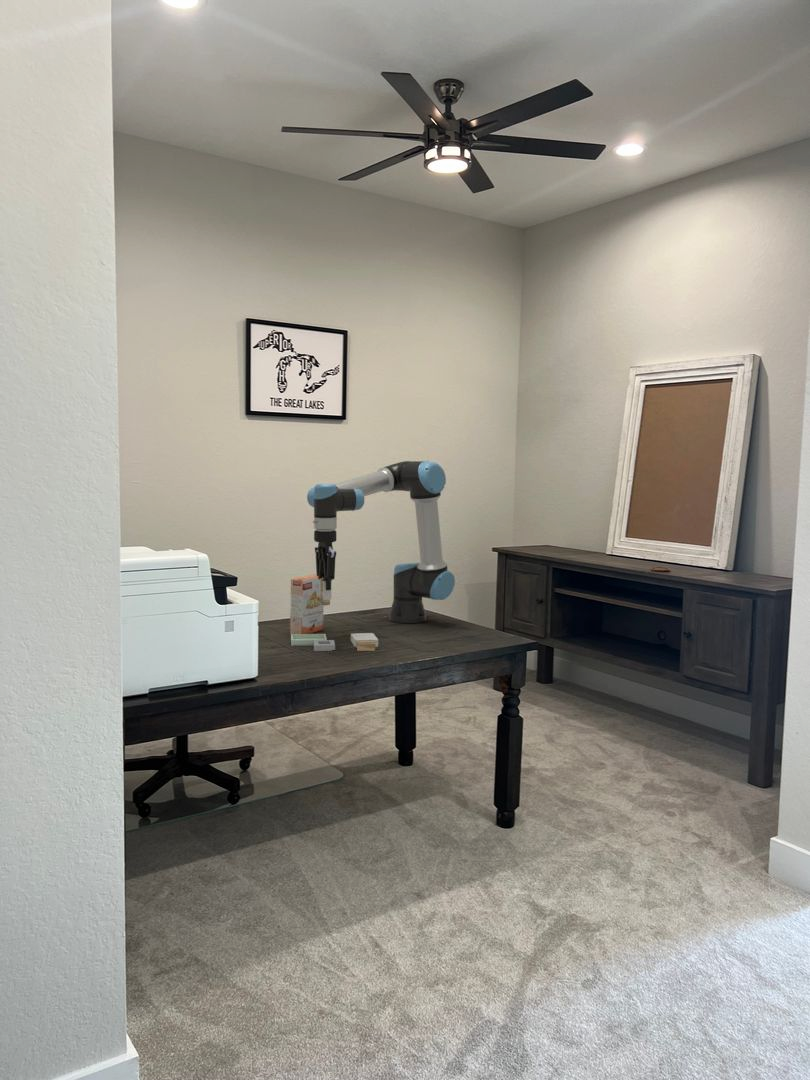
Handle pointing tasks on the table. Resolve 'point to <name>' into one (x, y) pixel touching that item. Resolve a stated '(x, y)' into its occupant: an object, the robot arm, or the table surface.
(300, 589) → the cracker box
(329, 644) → the holder
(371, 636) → the white rectangular block
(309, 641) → the tray
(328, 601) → the pestle
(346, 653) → the table surface
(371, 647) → the wooden block
